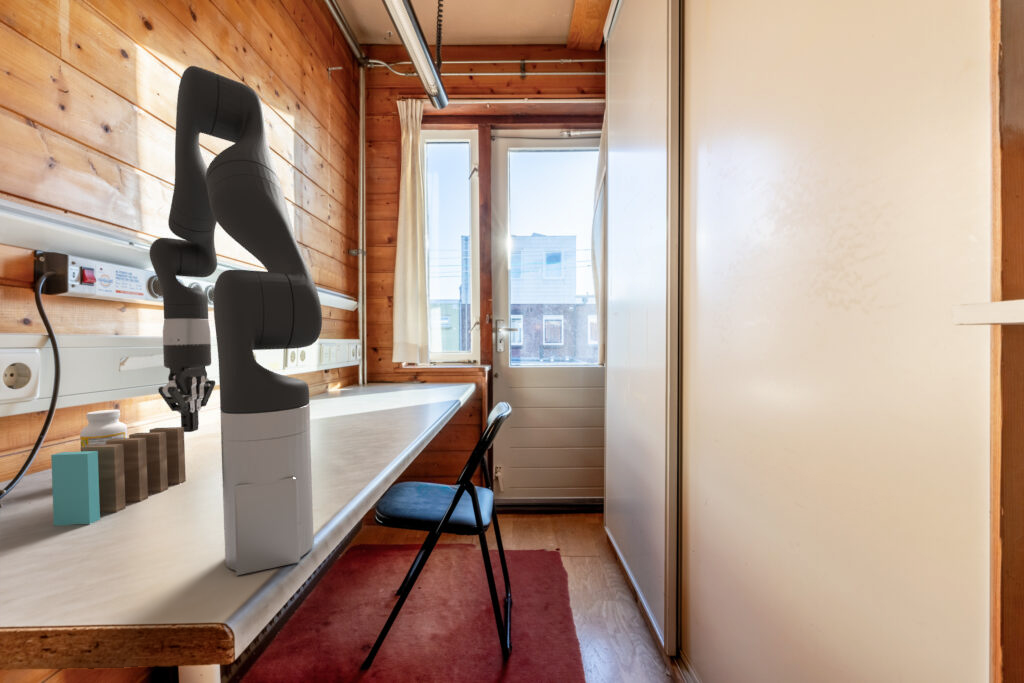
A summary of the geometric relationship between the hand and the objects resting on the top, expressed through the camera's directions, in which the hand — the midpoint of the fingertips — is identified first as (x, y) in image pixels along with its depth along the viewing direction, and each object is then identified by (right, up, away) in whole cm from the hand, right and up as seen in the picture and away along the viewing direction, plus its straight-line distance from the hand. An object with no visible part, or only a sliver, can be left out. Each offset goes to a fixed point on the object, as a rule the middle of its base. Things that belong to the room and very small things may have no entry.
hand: (190, 431), depth 87 cm
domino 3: (+1, -8, -15) cm, 17 cm away
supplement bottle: (-15, -9, -2) cm, 17 cm away
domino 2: (+1, -8, -19) cm, 21 cm away
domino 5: (0, -8, -6) cm, 10 cm away
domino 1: (+1, -8, -24) cm, 25 cm away
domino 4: (+1, -8, -10) cm, 13 cm away
